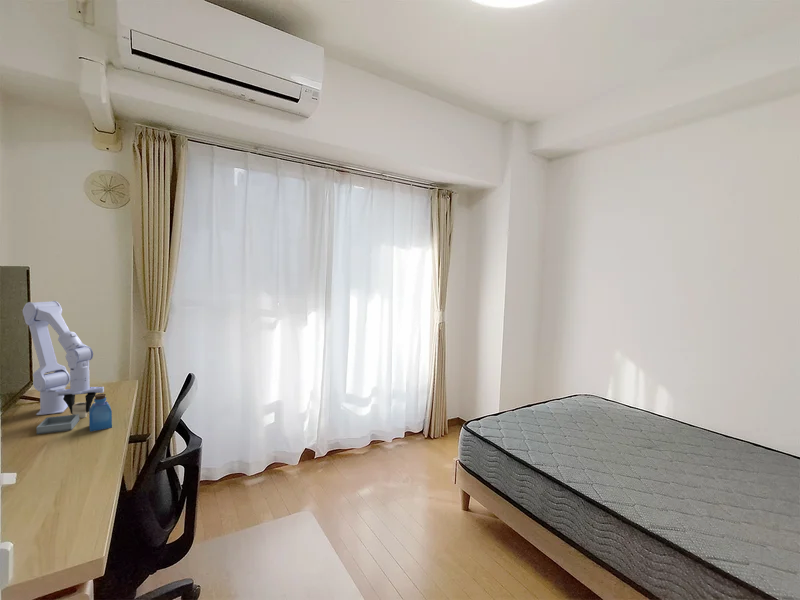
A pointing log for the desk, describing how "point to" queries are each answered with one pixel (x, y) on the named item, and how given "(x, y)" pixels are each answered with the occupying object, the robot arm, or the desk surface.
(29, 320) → the robot arm
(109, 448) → the desk surface
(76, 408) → the bored block
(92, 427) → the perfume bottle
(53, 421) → the tray
